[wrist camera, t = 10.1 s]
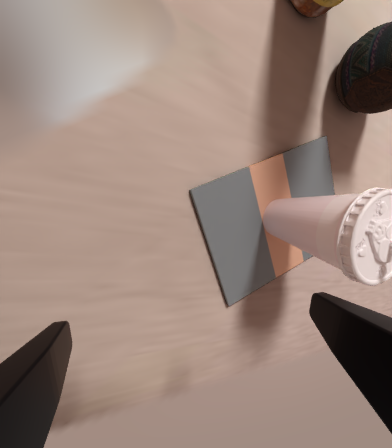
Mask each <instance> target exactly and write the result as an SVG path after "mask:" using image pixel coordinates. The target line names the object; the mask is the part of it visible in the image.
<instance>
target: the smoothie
mask: <svg viewBox="0 0 392 448" xmlns="http://www.w3.org/2000/svg"><path fill="white" fill-rule="evenodd" d="M263 225H264V228H265V229H266V231H267V232H268V233H269V234H271V235H273V236H275V237H277V238H279V239H281V240H283V241H285V242H287V243H289V244H291V245H293V246H295V247H297V248H299V249H301V250H303V251H305V252H307V253H309V254H311V255H313V256H315V257H317V258H319V259H321V260H323V261H325V262H326V263H328V264H330V265H332V266H335V267H337V268H339V269H341V270H342V272H343V274H344V275H345V276H347V277H348V278H349V279H350V280H353V281H356V282H360V283H363V284H366V285H370V286H374V285H378V284H381V283H383V282H385V281H387V280H388V279H389V278H390V277H392V189H384V188H377V187H375V188H371V189H368V190H366V191H364V192H363V193H358V194H343V195H329V196H314V197H300V198H285V199H276V200H273V201H272V202H271V203H269V205H268V206H267V207H266V209H265V211H264V215H263Z"/></svg>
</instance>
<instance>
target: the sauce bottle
mask: <svg viewBox="0 0 392 448" xmlns="http://www.w3.org/2000/svg"><path fill="white" fill-rule="evenodd" d="M290 1H291V2H292V4H293V5H294V6H295V8H296V10H297V11H299V12H300V13H301V14H302V15H306V16H307V17H316V16H320V15H322V14H325V13H326V12H327V11H328V10H330V9H331V8H332V7H334V6H336V5H338V4H339V3H341V2H342V1H343V0H290Z"/></svg>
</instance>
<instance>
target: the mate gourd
mask: <svg viewBox="0 0 392 448" xmlns="http://www.w3.org/2000/svg"><path fill="white" fill-rule="evenodd" d="M335 83H336V90H337V94H338V96H339V98H340V100H341V101H342V103H343V104H344V105H345V106H346V107H347V108H348V109H349V110H351V111H353V112H362V113H367V114H368V113H369V114H371V113H378V112H383V111H387V110H389V109H392V22H390V23H385V24H383V25H380V26H378V27H376V28H373V29H372V30H370V31H368V32H367V33H366V34H365V35H364V36H362V37H361V38H360V39H359V40H358V41H357V42H355V43H353V44H352V45H351V46H350V48H349V49H348V50H347V52H346V53H345V55H344V56H343V58H342V60H341V62H340V64H339V67H338V70H337V73H336V82H335Z"/></svg>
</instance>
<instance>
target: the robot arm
mask: <svg viewBox="0 0 392 448" xmlns="http://www.w3.org/2000/svg"><path fill="white" fill-rule="evenodd" d="M309 313H310V316H311V318H312V320H313V322H314V323H315V325H316V327H317V328H318V330H319V331H320V333H321V335H322V336H323V338H324V340H325V341H326V343H327V345H328V346H329V348H330V349H331V351H332V353H333V354H334V355H335V357H336V358H337V360H338V361H339V362H340V364H341V365H342V366H343V368H344V369H345V370H346V372H347V373H348V375H349V376H350V377H351V379H352V380H353V381H354V383H355V384H356V386H357V387H358V388H359V389H360V391H361V392H362V394H363V395H364V397H365V398H366V399H367V401H368V402H369V403H370V405H371V406H372V407H373V409H374V410H375V412H376V413H377V414H378V416H379V417H380V418H381V420H382V421H383V423H384V424H385V425H386V427H387V428H388V429H389V431H390V432H391V433H392V318H391V317H388V316H386V315H383V314H380V313H378V312H375V311H372V310H370V309H367V308H364V307H362V306H359V305H356V304H354V303H351V302H349V301H346V300H343V299H341V298H338V297H335V296H333V295H330V294H327V293H324V292H320V293H314V294H313V295H312V299H311V304H310V310H309ZM71 350H72V337H71V332H70V326H69V323H68V322H67V321H60V322H54V323H52V324H51V325H50V326H48V327H47V328H46V329H44V330H43V331H42V332H41V333H39V334H38V335H37V336H35V337H34V338H33V339H32V340H30V341H29V342H28V343H26V344H25V345H24V346H23V347H21V348H20V349H19V350H17V351H16V352H15V353H13V354H12V355H11V356H10V357H8V358H7V359H6V360H4V361H3V362H2V363H1V364H0V448H43V447H44V444H45V441H46V439H47V436H48V433H49V430H50V427H51V424H52V421H53V418H54V415H55V412H56V409H57V406H58V403H59V400H60V396H61V393H62V388H63V384H64V380H65V376H66V371H67V367H68V363H69V358H70V354H71Z"/></svg>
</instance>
